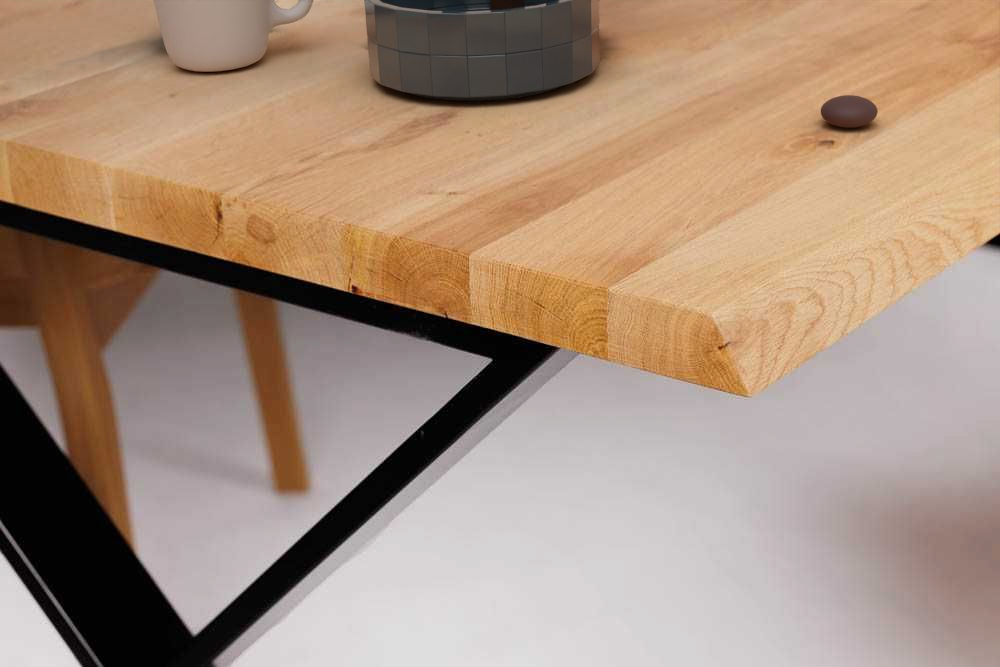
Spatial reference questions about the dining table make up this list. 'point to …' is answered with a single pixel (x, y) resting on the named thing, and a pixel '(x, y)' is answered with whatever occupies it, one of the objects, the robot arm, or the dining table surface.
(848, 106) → the chocolate truffle
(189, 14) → the cup
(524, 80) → the bowl
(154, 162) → the dining table surface
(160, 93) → the dining table surface
